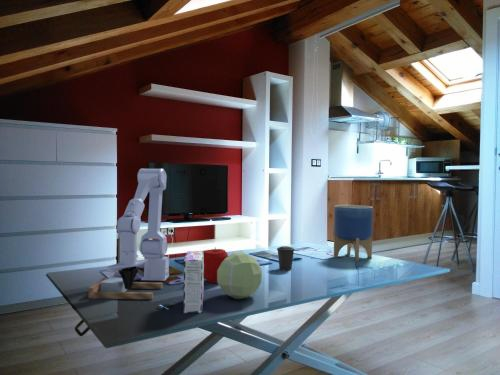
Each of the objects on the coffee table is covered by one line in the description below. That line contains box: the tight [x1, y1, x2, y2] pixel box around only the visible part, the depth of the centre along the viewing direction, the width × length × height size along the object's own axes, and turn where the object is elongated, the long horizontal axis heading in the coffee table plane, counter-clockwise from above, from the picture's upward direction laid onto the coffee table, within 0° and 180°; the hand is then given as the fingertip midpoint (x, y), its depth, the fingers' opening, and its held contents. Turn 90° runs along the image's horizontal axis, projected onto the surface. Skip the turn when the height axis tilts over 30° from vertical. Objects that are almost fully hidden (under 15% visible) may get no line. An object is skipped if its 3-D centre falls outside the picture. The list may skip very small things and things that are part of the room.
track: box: [88, 277, 163, 300], centre depth 140 cm, size 22×13×4 cm, turn 88°
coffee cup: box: [276, 245, 296, 271], centre depth 178 cm, size 8×8×10 cm
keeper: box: [100, 276, 128, 292], centre depth 142 cm, size 7×7×4 cm
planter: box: [333, 204, 374, 263], centre depth 205 cm, size 19×19×26 cm
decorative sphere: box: [217, 252, 263, 300], centre depth 137 cm, size 15×15×15 cm
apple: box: [203, 247, 229, 284], centre depth 156 cm, size 11×10×14 cm
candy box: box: [183, 250, 205, 314], centre depth 127 cm, size 14×6×16 cm, turn 5°
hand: (128, 288), depth 140 cm, fingers closed
